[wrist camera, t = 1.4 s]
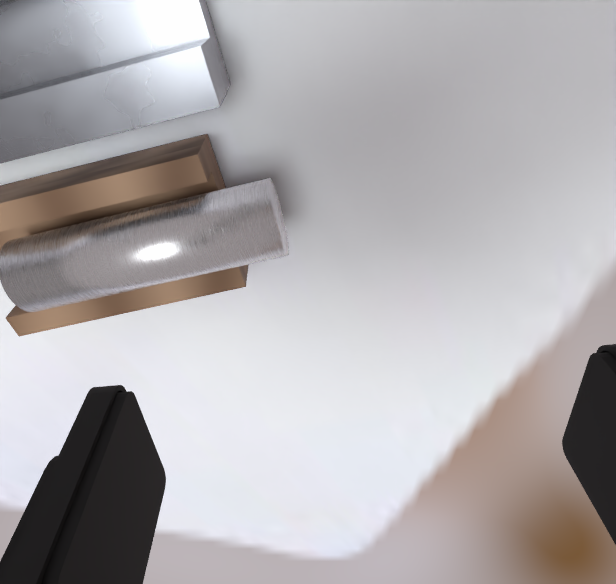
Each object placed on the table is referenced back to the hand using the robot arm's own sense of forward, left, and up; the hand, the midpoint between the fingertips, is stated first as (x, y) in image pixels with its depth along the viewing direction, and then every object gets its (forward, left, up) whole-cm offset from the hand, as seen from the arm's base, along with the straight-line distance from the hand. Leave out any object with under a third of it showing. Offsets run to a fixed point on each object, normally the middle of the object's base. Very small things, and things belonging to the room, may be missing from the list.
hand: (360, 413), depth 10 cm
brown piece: (+13, +2, -20) cm, 23 cm away
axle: (+10, +2, -18) cm, 20 cm away
